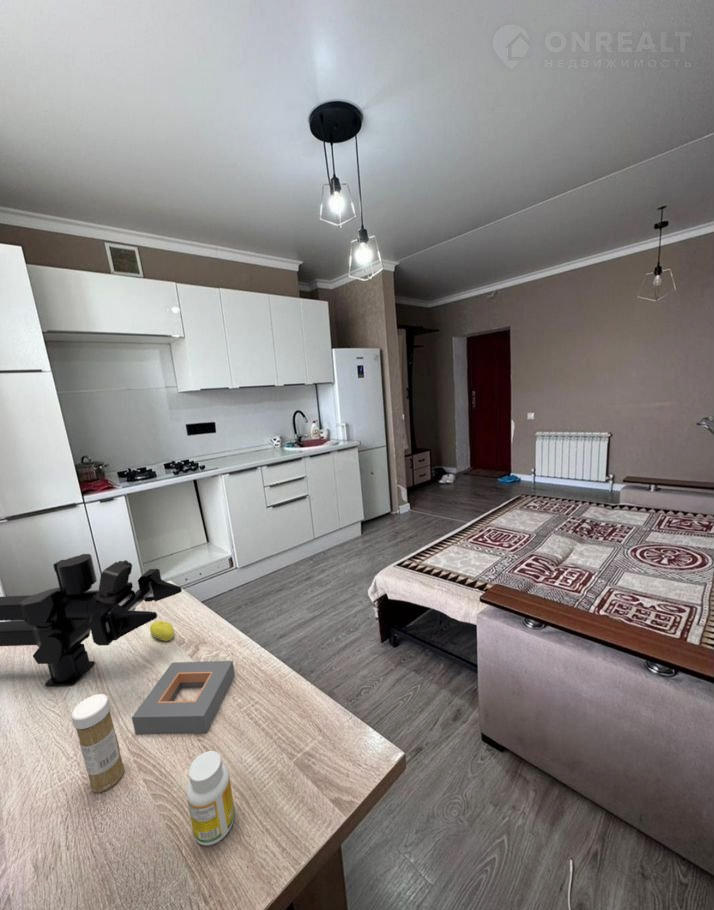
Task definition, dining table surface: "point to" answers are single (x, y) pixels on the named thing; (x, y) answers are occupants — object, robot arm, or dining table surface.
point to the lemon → (162, 630)
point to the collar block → (184, 715)
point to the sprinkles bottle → (98, 742)
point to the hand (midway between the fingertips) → (169, 601)
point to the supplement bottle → (210, 798)
